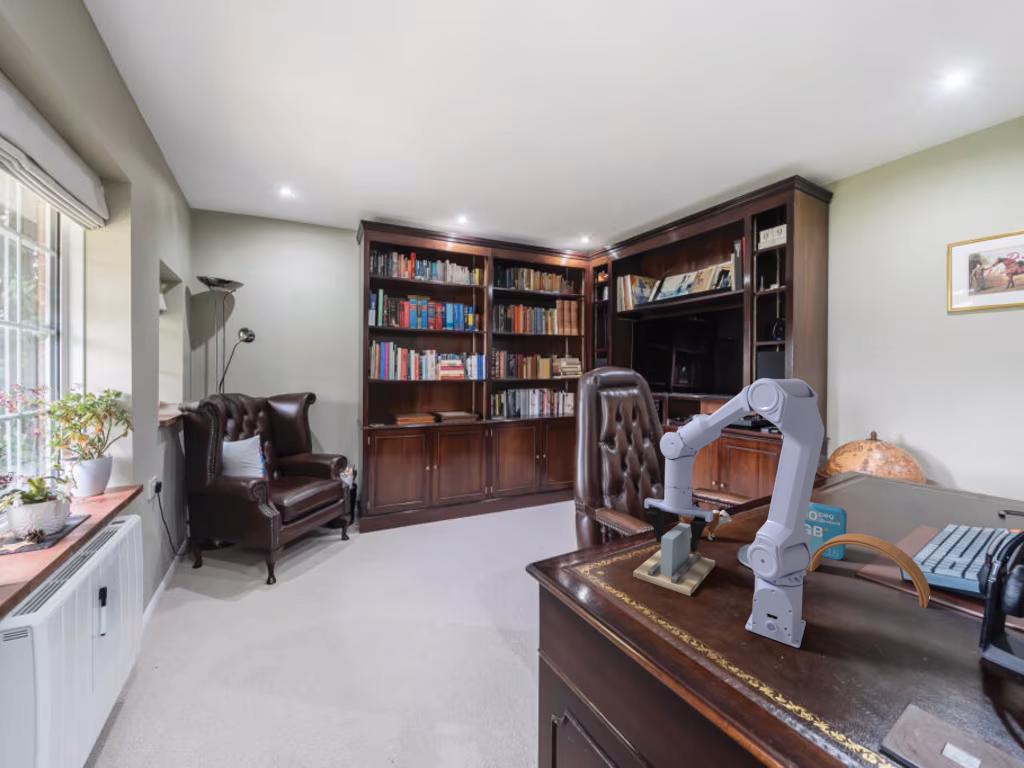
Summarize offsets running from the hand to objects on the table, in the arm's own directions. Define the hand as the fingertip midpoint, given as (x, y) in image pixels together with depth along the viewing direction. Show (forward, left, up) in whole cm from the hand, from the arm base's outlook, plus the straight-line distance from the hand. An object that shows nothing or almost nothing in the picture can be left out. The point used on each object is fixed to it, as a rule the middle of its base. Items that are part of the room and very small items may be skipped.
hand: (676, 545), depth 97 cm
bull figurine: (+25, +1, -6) cm, 26 cm away
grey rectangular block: (0, 0, -5) cm, 5 cm away
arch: (+22, -33, -6) cm, 40 cm away
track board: (0, 0, -6) cm, 6 cm away
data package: (+35, -23, -6) cm, 42 cm away
